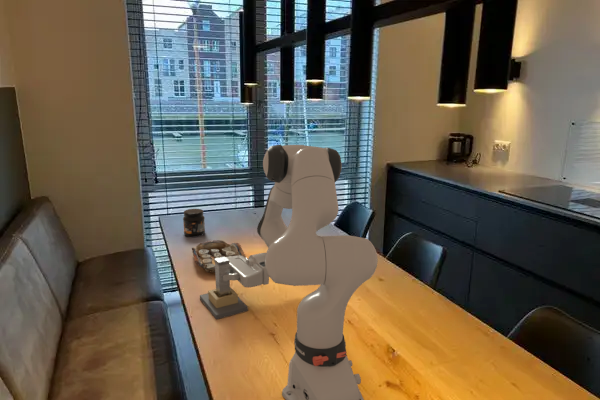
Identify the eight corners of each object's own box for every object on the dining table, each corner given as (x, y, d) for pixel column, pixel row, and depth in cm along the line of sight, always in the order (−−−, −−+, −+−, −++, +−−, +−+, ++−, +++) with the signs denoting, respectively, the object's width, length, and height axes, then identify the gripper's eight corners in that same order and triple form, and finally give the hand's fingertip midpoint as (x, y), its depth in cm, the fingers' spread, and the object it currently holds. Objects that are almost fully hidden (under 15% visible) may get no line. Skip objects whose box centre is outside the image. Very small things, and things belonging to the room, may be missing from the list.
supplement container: (180, 233, 220) (178, 210, 217) (198, 229, 227) (197, 207, 224) (190, 238, 212) (189, 215, 210) (209, 234, 219) (208, 211, 216)
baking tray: (255, 272, 175) (254, 259, 174) (201, 281, 166) (200, 268, 165) (234, 248, 202) (234, 237, 200) (186, 254, 193) (186, 243, 192)
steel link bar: (230, 293, 146) (229, 260, 143) (219, 296, 144) (218, 262, 141) (226, 289, 150) (225, 256, 146) (215, 291, 148) (214, 258, 145)
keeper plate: (247, 310, 144) (247, 298, 143) (216, 319, 138) (215, 306, 137) (229, 291, 157) (229, 280, 156) (199, 299, 152) (199, 287, 151)
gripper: (244, 248, 160) (208, 256, 153) (270, 268, 143) (231, 277, 136) (245, 264, 161) (209, 272, 154) (270, 286, 144) (231, 295, 137)
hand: (219, 275), depth 145 cm, fingers closed on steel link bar, 4 cm apart
